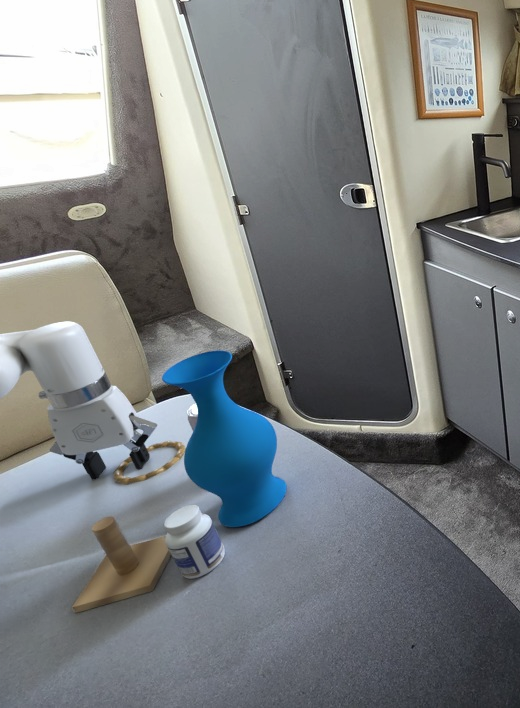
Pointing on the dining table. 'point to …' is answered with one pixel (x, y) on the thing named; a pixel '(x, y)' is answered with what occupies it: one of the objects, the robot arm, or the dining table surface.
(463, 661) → the dining table surface
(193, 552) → the pill bottle
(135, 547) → the wooden base with post
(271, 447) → the vase
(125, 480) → the ring
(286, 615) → the dining table surface
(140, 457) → the robot arm
